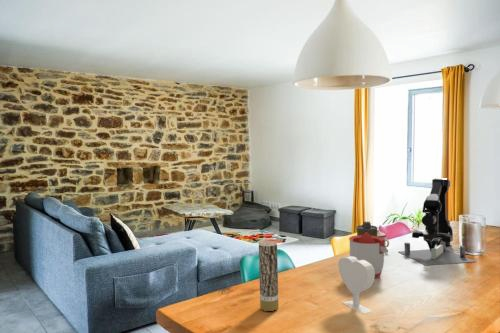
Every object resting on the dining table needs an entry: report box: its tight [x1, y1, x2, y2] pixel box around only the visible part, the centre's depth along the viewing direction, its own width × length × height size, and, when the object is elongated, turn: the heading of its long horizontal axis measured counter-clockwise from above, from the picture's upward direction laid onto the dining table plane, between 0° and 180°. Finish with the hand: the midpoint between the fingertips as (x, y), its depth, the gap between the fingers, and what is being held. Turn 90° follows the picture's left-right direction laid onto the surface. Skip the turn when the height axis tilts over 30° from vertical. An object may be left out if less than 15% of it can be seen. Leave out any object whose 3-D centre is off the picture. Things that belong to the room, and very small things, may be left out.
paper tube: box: [258, 239, 279, 312], centre depth 149 cm, size 7×7×25 cm
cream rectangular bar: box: [431, 242, 444, 259], centre depth 211 cm, size 18×2×5 cm, turn 140°
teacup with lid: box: [377, 228, 390, 248], centre depth 226 cm, size 12×9×12 cm
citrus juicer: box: [348, 232, 389, 279], centre depth 183 cm, size 16×17×20 cm
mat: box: [398, 248, 477, 267], centre depth 211 cm, size 27×26×1 cm
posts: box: [404, 240, 466, 258], centre depth 211 cm, size 26×14×6 cm, turn 99°
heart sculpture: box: [338, 255, 376, 314], centre depth 149 cm, size 16×5×18 cm, turn 28°
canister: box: [356, 221, 378, 236], centre depth 208 cm, size 11×10×20 cm
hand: (431, 252), depth 210 cm, fingers closed
